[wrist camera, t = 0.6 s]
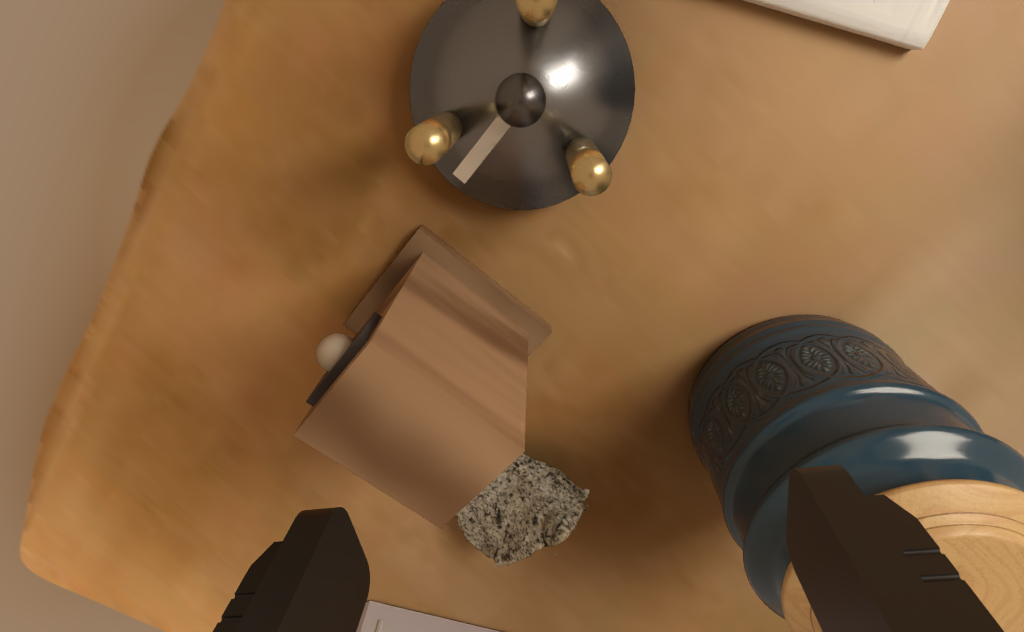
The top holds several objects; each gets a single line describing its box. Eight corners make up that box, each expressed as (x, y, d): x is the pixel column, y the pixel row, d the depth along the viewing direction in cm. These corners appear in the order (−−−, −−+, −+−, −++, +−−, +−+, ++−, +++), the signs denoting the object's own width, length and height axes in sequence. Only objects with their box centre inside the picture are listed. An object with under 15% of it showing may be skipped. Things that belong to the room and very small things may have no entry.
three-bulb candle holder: (508, -85, 25) (496, -138, 18) (675, 82, 28) (720, 90, 21) (374, 111, 29) (324, 127, 22) (533, 242, 32) (531, 292, 25)
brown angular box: (414, 219, 32) (351, 301, 21) (551, 326, 35) (557, 449, 24) (340, 314, 35) (251, 430, 24) (472, 407, 37) (445, 550, 26)
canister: (696, 308, 34) (840, 535, 18) (916, 308, 33) (1272, 542, 17) (674, 476, 39) (768, 766, 23) (863, 478, 39) (1094, 777, 23)
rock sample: (475, 422, 33) (522, 575, 31) (565, 403, 38) (612, 533, 35) (401, 465, 40) (434, 591, 38) (485, 444, 45) (519, 554, 43)
